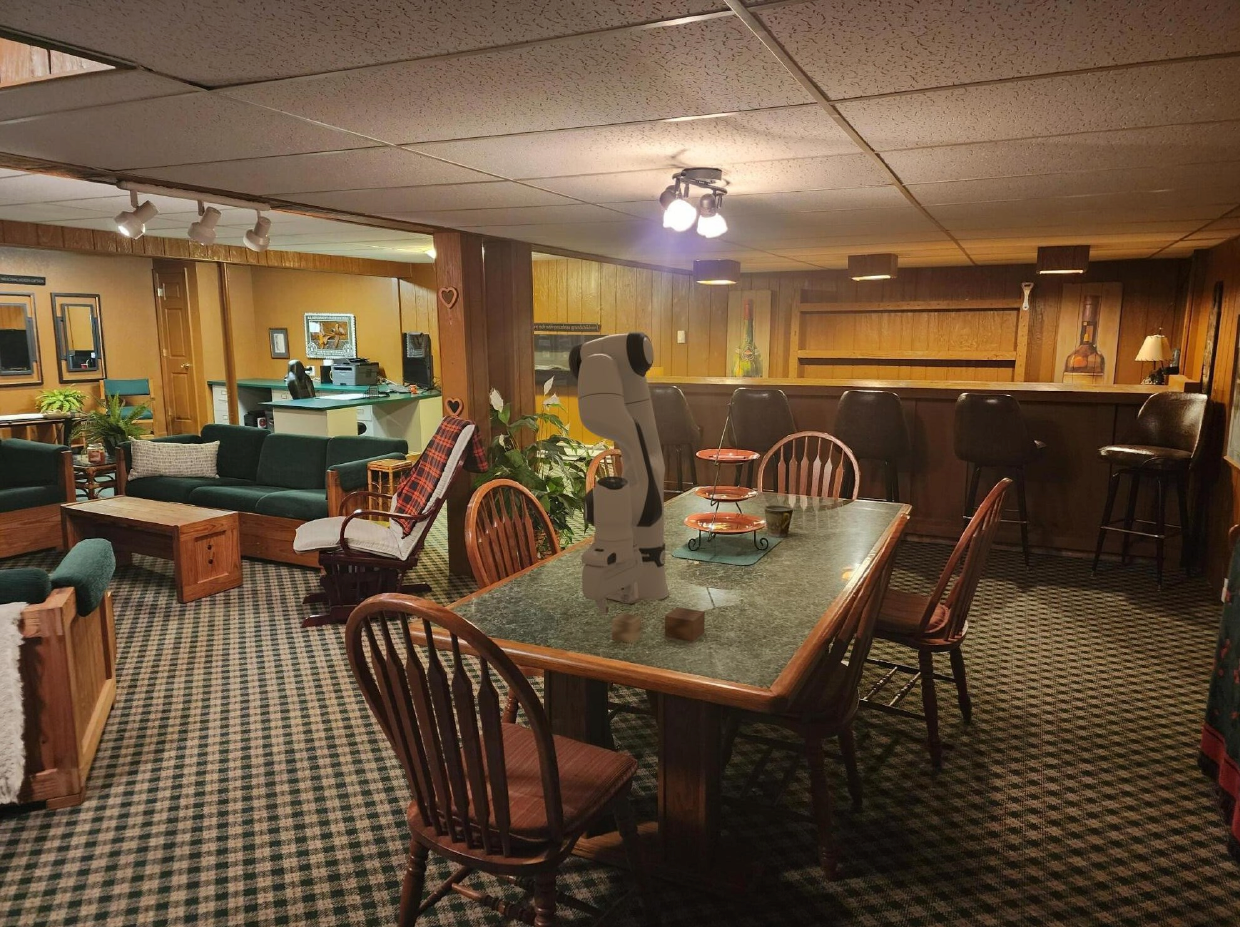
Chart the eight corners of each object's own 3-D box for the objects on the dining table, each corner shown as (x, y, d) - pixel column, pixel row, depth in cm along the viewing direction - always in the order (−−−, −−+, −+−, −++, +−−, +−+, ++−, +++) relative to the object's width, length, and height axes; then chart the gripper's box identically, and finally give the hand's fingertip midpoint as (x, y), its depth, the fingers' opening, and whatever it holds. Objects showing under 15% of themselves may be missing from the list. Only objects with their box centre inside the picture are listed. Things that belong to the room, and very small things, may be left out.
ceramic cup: (758, 532, 289) (759, 505, 288) (783, 531, 292) (784, 504, 291) (776, 541, 277) (777, 513, 276) (801, 539, 280) (802, 511, 279)
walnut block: (664, 636, 184) (665, 615, 184) (676, 627, 190) (676, 606, 190) (693, 641, 181) (693, 620, 180) (704, 632, 187) (704, 611, 187)
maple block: (612, 644, 183) (612, 619, 182) (622, 637, 187) (622, 612, 186) (631, 648, 181) (631, 623, 180) (641, 641, 185) (641, 616, 184)
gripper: (626, 538, 191) (627, 593, 193) (576, 557, 174) (578, 618, 176) (649, 541, 188) (649, 597, 190) (600, 561, 171) (601, 623, 173)
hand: (614, 608), depth 183 cm, fingers open, 8 cm apart
